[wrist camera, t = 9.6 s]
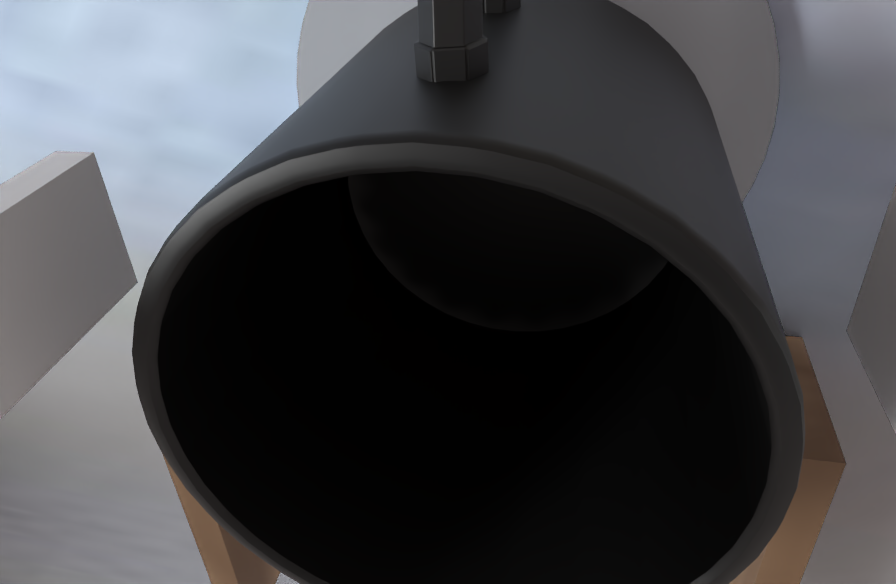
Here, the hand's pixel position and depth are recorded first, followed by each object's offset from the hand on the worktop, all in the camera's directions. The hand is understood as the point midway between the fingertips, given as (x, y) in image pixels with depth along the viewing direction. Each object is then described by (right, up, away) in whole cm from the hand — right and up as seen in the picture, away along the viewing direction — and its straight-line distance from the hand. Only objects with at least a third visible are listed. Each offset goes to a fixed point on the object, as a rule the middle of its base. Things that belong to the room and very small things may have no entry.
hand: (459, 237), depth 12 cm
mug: (+1, +3, +5) cm, 6 cm away
